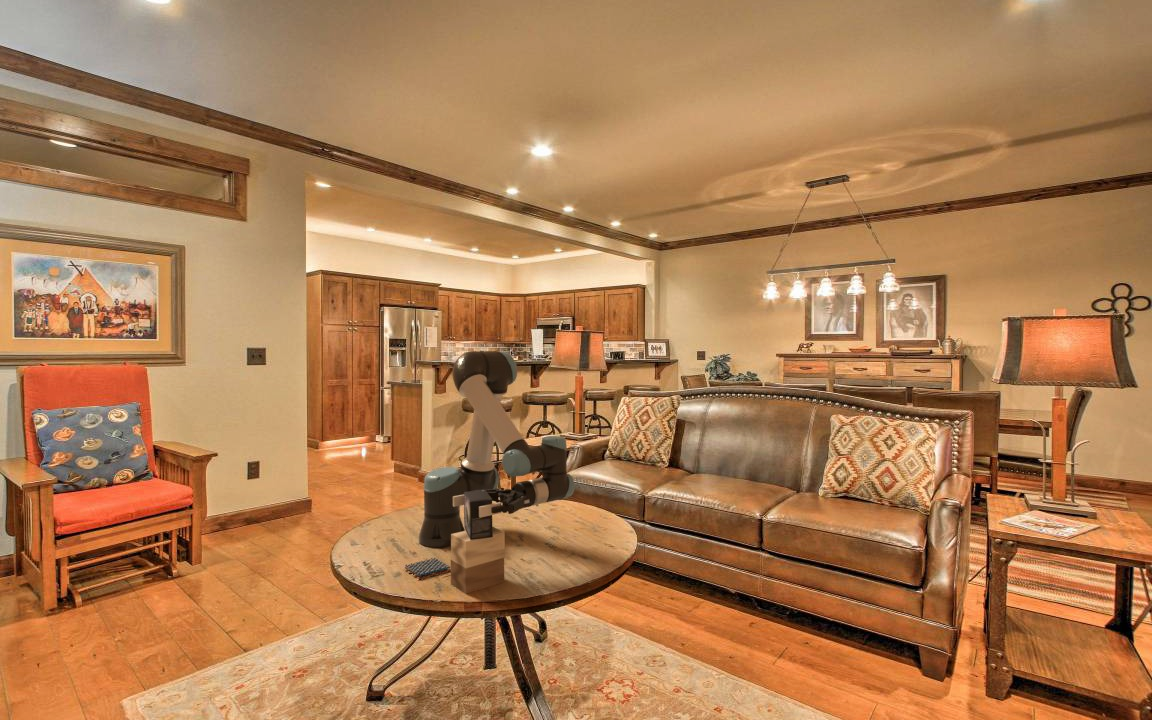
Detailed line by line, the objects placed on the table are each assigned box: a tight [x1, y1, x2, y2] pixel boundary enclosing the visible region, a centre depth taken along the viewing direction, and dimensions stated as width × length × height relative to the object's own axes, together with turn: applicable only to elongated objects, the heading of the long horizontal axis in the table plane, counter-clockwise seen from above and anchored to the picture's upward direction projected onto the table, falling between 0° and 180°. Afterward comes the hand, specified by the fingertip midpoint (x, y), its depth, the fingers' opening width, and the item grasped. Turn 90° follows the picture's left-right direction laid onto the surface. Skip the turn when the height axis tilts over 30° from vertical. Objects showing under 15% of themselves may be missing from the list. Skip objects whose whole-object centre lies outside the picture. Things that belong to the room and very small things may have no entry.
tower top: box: [450, 526, 506, 568], centre depth 152 cm, size 8×12×7 cm, turn 131°
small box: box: [463, 490, 494, 540], centre depth 152 cm, size 11×6×10 cm, turn 20°
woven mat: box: [404, 557, 451, 580], centre depth 162 cm, size 10×11×2 cm
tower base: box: [450, 558, 505, 595], centre depth 153 cm, size 8×12×7 cm, turn 131°
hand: (465, 506), depth 151 cm, fingers open, 13 cm apart
